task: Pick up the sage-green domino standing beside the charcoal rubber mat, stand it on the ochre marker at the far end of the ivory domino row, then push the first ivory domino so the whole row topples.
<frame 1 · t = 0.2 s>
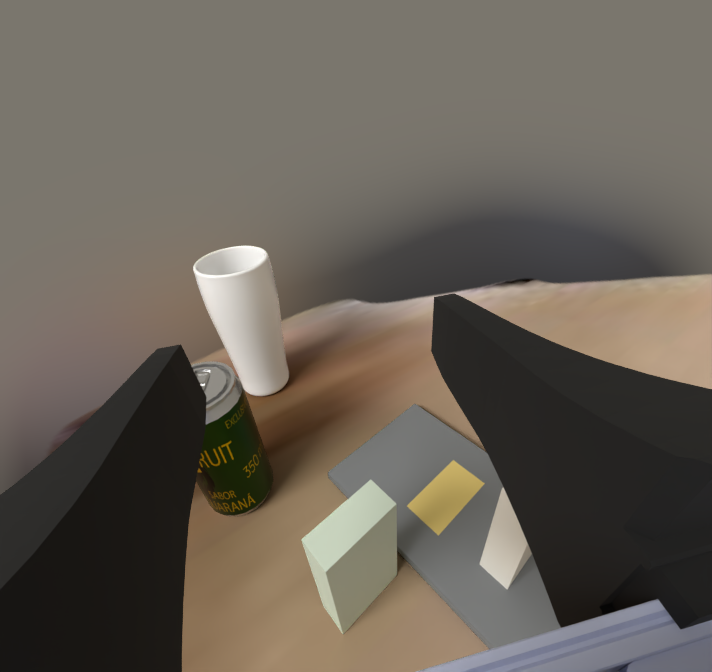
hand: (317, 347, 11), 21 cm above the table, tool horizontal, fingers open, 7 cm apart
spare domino: (361, 589, 24), on the table
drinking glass: (267, 383, 41), on the table
domino 4: (512, 549, 25), point 1 cm above the table, touching domino mat
domino mat: (558, 595, 23), on the table
beer can: (243, 490, 31), on the table
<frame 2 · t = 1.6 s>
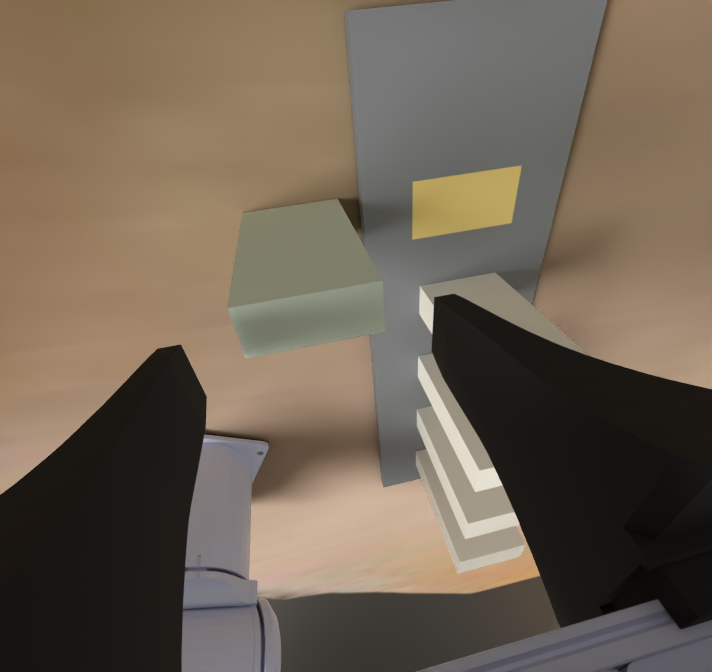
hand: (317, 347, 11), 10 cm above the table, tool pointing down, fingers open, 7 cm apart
domino 2: (445, 411, 29), point 1 cm above the table, touching domino mat
domino 1: (441, 452, 32), point 1 cm above the table, touching domino mat
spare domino: (294, 225, 19), on the table
domino 3: (450, 360, 26), point 1 cm above the table, touching domino mat
domino 4: (456, 293, 22), point 1 cm above the table, touching domino mat
domino mat: (447, 328, 25), on the table
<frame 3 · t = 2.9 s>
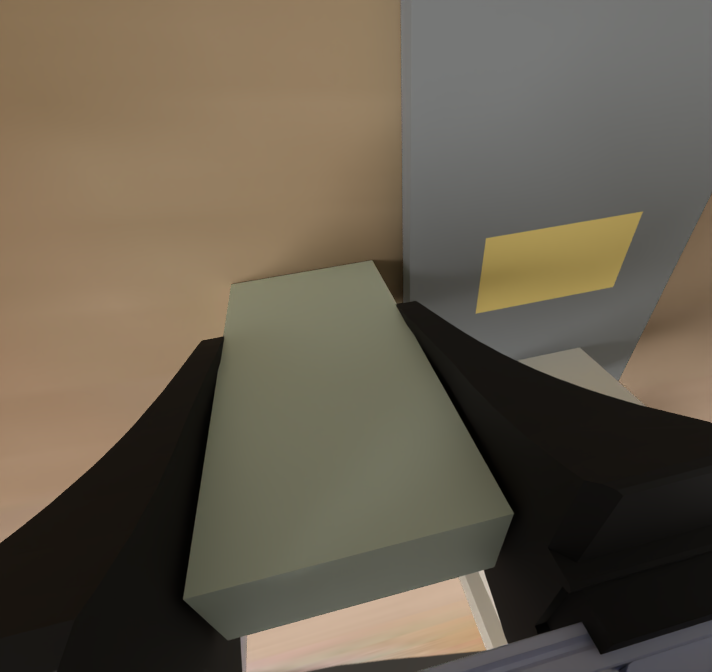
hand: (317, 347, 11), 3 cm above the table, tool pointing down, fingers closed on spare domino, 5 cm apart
domino 1: (480, 537, 26), point 1 cm above the table, touching domino mat
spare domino: (308, 297, 13), on the table, touching gripper
domino 4: (525, 374, 16), point 1 cm above the table, touching domino mat
domino mat: (504, 408, 19), on the table
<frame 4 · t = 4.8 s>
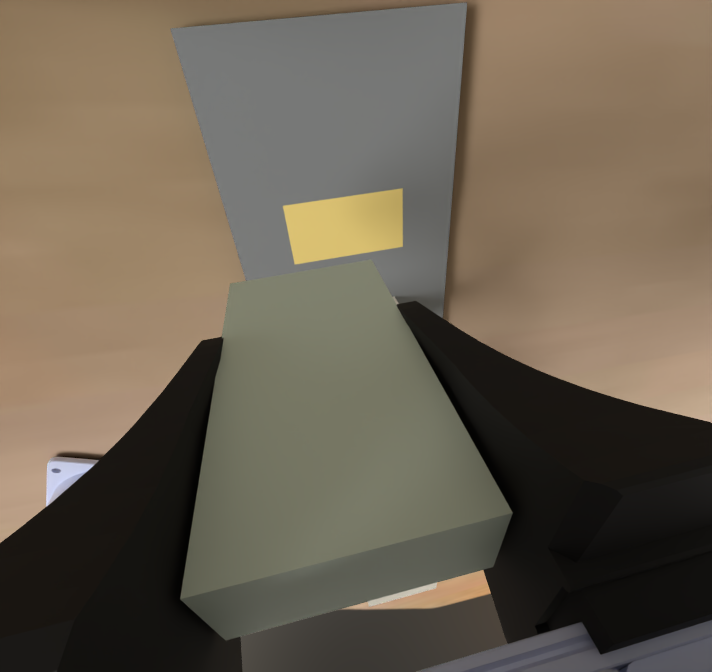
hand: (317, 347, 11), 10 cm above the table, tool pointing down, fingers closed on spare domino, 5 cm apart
domino 1: (371, 474, 31), point 1 cm above the table, touching domino mat
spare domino: (307, 296, 13), point 7 cm above the table, touching gripper
domino mat: (357, 351, 24), on the table
when the fingers open (4 cm above the table, at t = 6.9 s): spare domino stays where it is, resting on domino mat.
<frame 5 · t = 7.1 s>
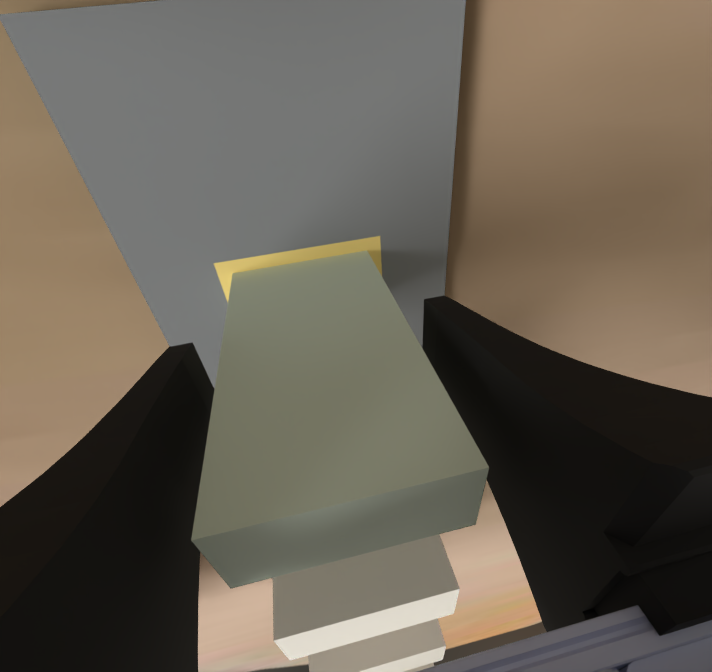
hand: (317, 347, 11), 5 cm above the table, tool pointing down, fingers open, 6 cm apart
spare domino: (306, 286, 13), point 1 cm above the table, touching domino mat
domino 3: (339, 459, 20), point 1 cm above the table, touching domino mat
domino 4: (326, 390, 17), point 1 cm above the table, touching domino mat
domino mat: (332, 422, 19), on the table
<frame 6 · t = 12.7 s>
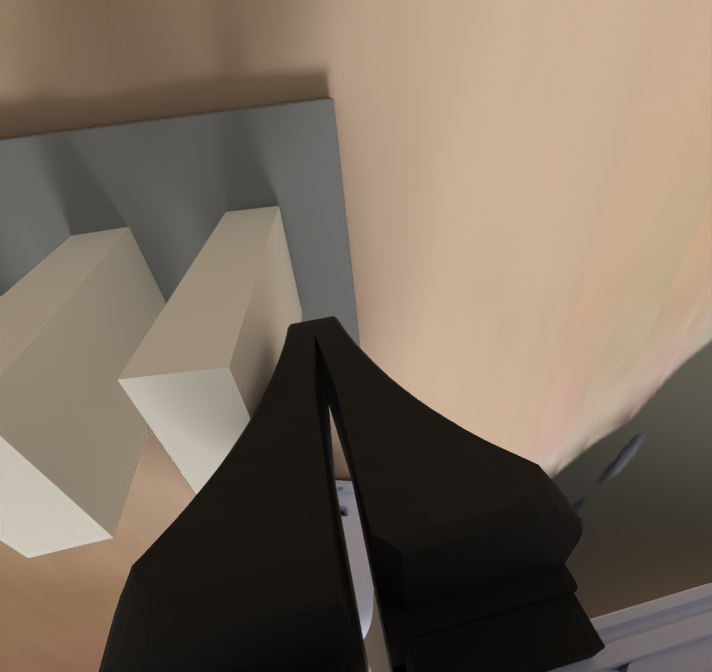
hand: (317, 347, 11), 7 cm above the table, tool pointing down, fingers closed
domino 2: (131, 288, 15), point 1 cm above the table, touching domino mat
domino 1: (267, 266, 15), point 1 cm above the table, tilted 7°, touching domino mat
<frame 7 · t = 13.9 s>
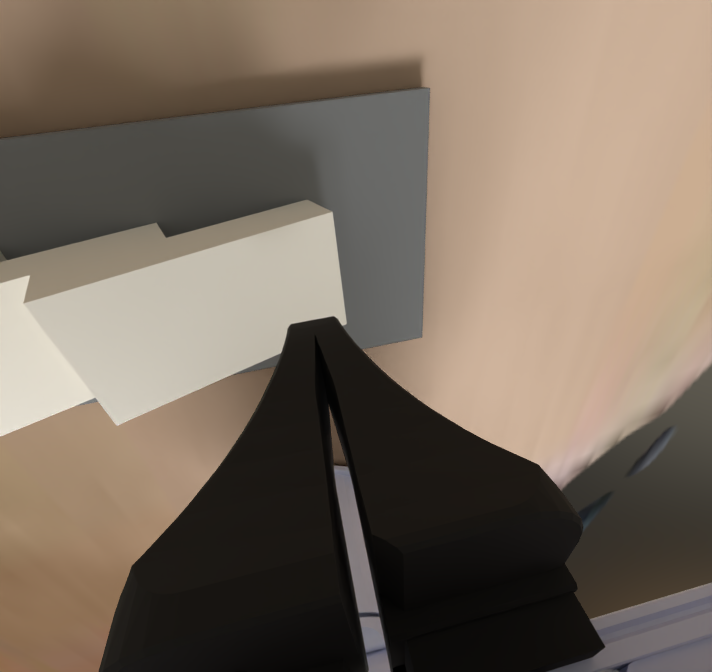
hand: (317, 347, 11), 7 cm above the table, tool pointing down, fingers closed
domino 2: (186, 289, 14), point 2 cm above the table, tilted 68°, touching domino 1, domino 3, domino mat
domino 1: (327, 264, 15), point 2 cm above the table, tilted 69°, touching domino 2, domino mat
domino mat: (25, 297, 15), on the table
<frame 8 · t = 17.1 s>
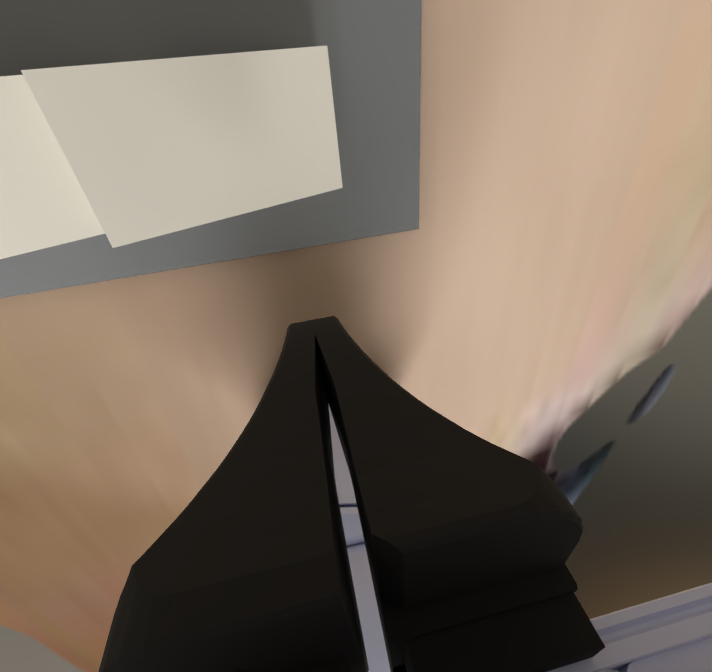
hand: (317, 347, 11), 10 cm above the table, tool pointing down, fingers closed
domino 2: (183, 141, 14), point 2 cm above the table, tilted 68°, touching domino 1, domino 3, domino mat
domino 1: (323, 122, 15), point 2 cm above the table, tilted 69°, touching domino 2, domino mat
domino mat: (25, 156, 15), on the table
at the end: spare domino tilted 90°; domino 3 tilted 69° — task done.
